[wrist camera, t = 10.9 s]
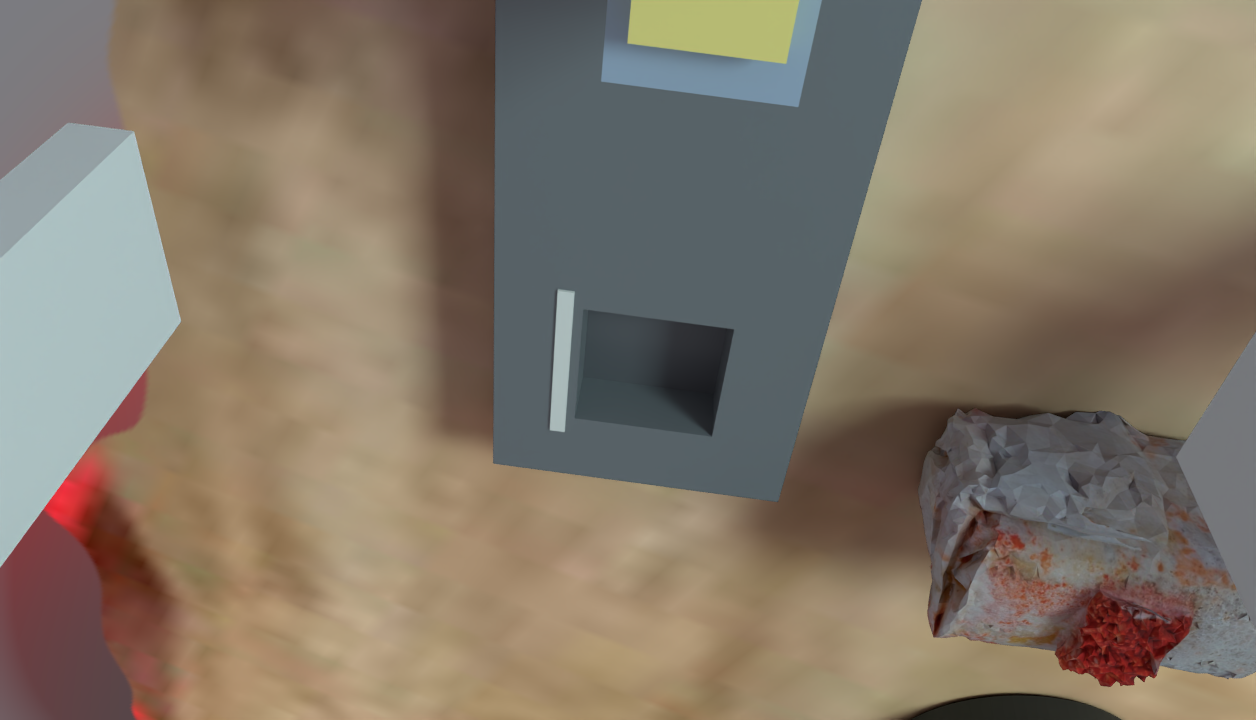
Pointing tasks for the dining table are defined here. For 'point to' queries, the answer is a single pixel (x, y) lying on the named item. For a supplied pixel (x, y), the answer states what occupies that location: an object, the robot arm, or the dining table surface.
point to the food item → (1078, 548)
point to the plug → (712, 46)
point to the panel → (672, 249)
